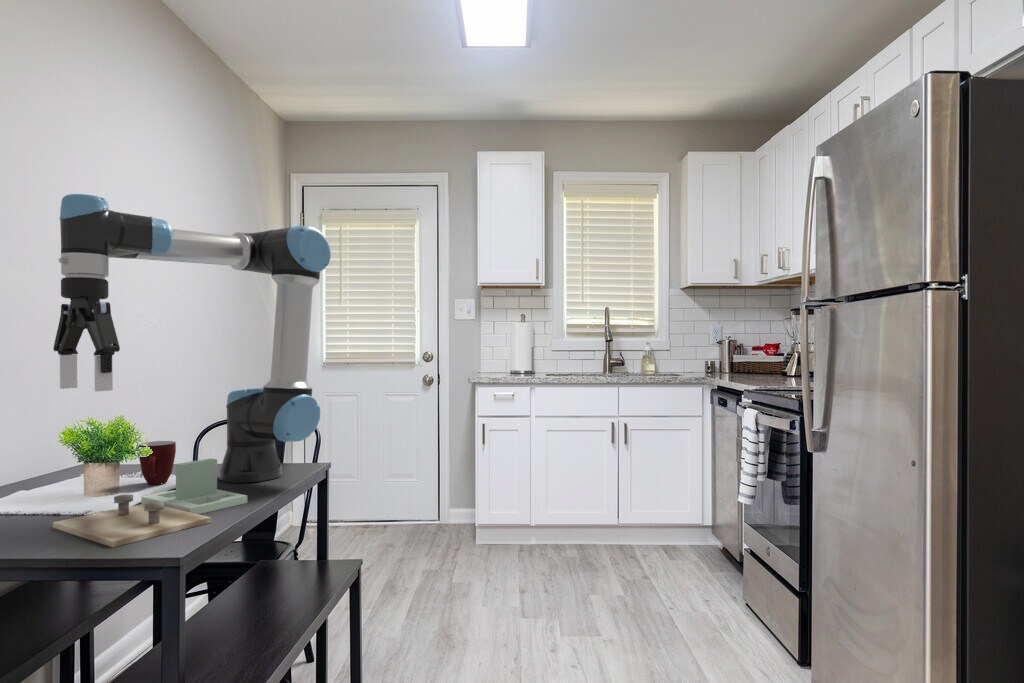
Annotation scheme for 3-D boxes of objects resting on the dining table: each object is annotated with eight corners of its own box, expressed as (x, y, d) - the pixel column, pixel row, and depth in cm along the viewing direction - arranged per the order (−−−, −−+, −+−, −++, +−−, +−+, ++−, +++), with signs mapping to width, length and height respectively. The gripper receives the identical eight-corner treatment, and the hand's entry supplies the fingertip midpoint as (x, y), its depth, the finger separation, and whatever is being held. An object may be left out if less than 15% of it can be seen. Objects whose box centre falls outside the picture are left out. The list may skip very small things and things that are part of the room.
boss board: (149, 507, 135) (149, 485, 135) (211, 522, 124) (211, 498, 124) (52, 527, 120) (52, 503, 120) (112, 547, 108) (112, 520, 108)
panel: (198, 492, 149) (198, 453, 149) (247, 502, 139) (247, 461, 139) (141, 504, 138) (141, 462, 138) (190, 516, 128) (190, 471, 128)
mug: (173, 487, 154) (173, 446, 154) (134, 490, 151) (135, 448, 151) (176, 478, 164) (177, 440, 164) (140, 481, 161) (141, 442, 161)
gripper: (32, 279, 124) (33, 388, 124) (96, 272, 111) (96, 393, 111) (75, 282, 131) (76, 385, 131) (140, 275, 117) (141, 390, 117)
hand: (85, 389), depth 121 cm, fingers open, 13 cm apart
